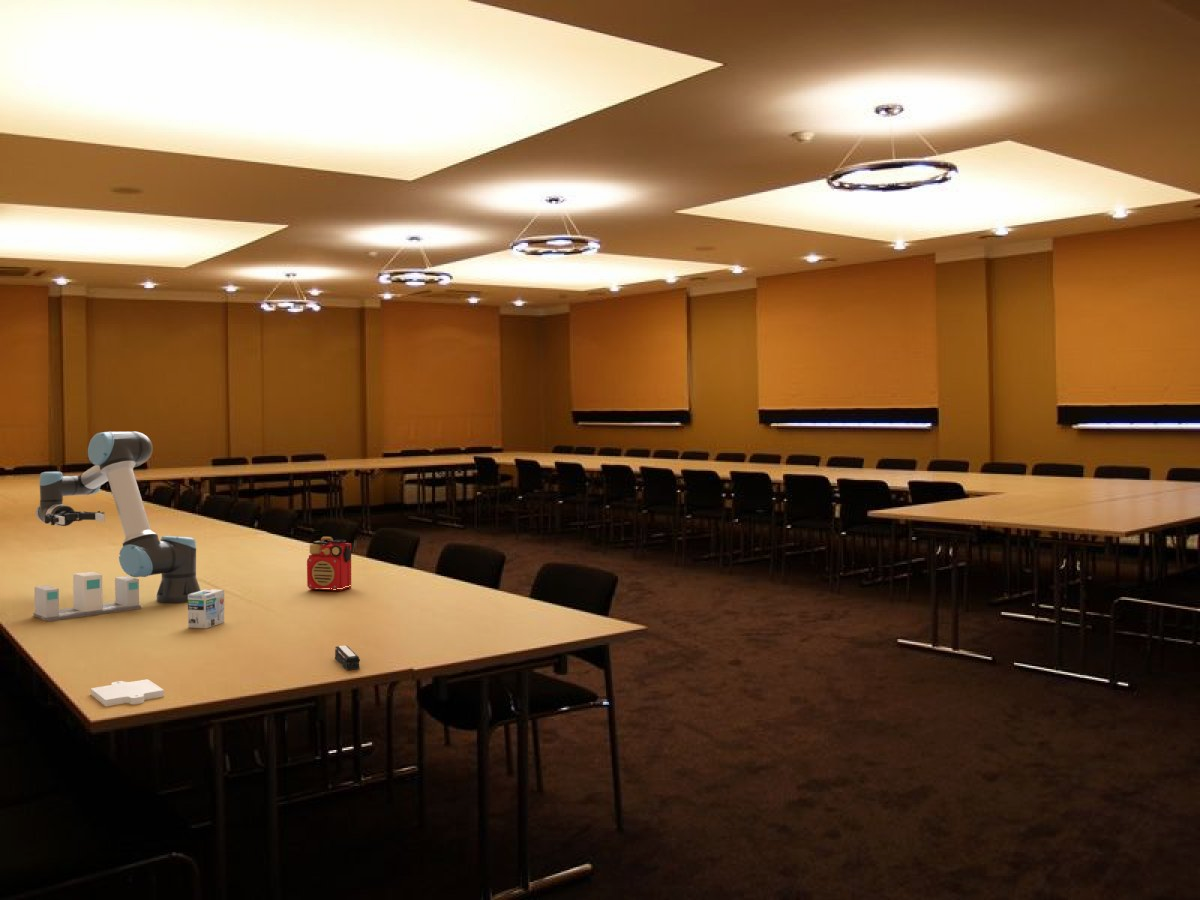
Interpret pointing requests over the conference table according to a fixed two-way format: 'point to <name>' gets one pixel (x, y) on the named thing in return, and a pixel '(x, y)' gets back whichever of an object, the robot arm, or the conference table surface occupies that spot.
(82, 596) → the block
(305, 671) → the conference table surface
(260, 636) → the conference table surface
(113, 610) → the rail board
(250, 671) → the conference table surface
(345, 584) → the radio
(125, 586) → the block
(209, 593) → the light bulb box
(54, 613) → the block
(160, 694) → the mounting plate
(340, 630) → the conference table surface
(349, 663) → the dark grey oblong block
